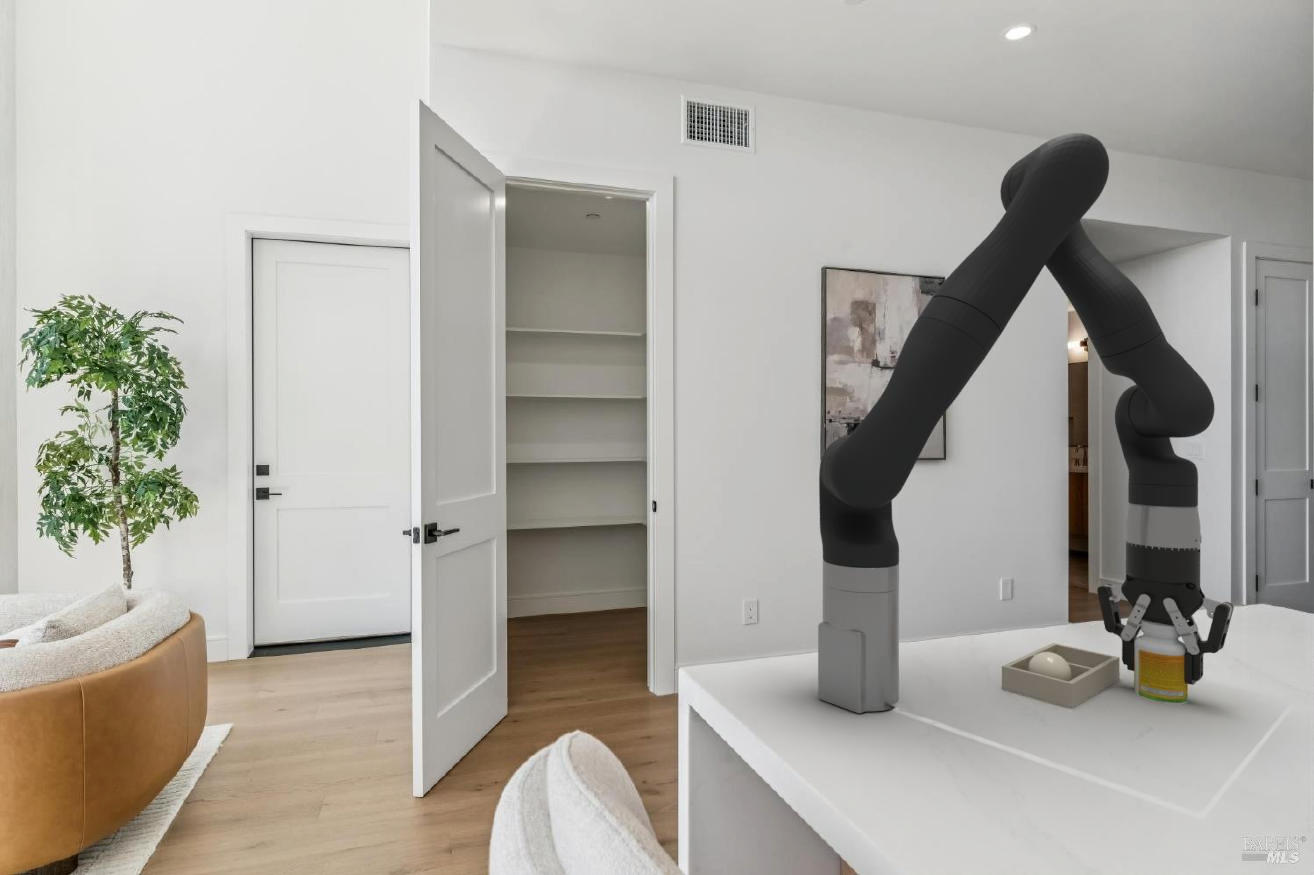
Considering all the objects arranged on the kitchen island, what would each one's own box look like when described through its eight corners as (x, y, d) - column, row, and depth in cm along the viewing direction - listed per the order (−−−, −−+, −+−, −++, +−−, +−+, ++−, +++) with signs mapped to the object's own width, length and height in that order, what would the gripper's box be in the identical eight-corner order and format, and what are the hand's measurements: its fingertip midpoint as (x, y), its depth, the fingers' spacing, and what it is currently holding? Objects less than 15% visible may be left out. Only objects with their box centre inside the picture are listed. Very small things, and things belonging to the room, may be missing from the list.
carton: (1072, 713, 82) (1072, 684, 81) (1001, 693, 88) (1001, 666, 88) (1119, 683, 91) (1119, 657, 91) (1053, 667, 98) (1053, 642, 98)
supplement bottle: (1197, 710, 82) (1197, 629, 82) (1147, 706, 83) (1147, 627, 83) (1173, 693, 88) (1173, 617, 88) (1126, 690, 89) (1126, 615, 89)
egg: (1062, 700, 84) (1062, 661, 84) (1021, 689, 88) (1021, 651, 88) (1077, 691, 87) (1077, 653, 87) (1037, 681, 91) (1037, 644, 91)
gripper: (1086, 536, 89) (1085, 667, 89) (1227, 551, 78) (1226, 700, 78) (1107, 531, 94) (1107, 655, 94) (1243, 545, 82) (1243, 685, 82)
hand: (1161, 675), depth 86 cm, fingers closed on supplement bottle, 5 cm apart
